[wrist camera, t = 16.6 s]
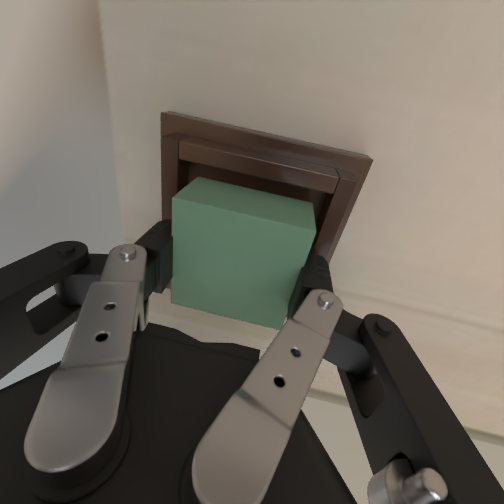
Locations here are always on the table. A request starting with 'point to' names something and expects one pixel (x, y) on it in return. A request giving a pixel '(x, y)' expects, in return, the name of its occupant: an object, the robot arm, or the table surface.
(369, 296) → the table surface
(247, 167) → the brown square shallow tray
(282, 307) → the block
